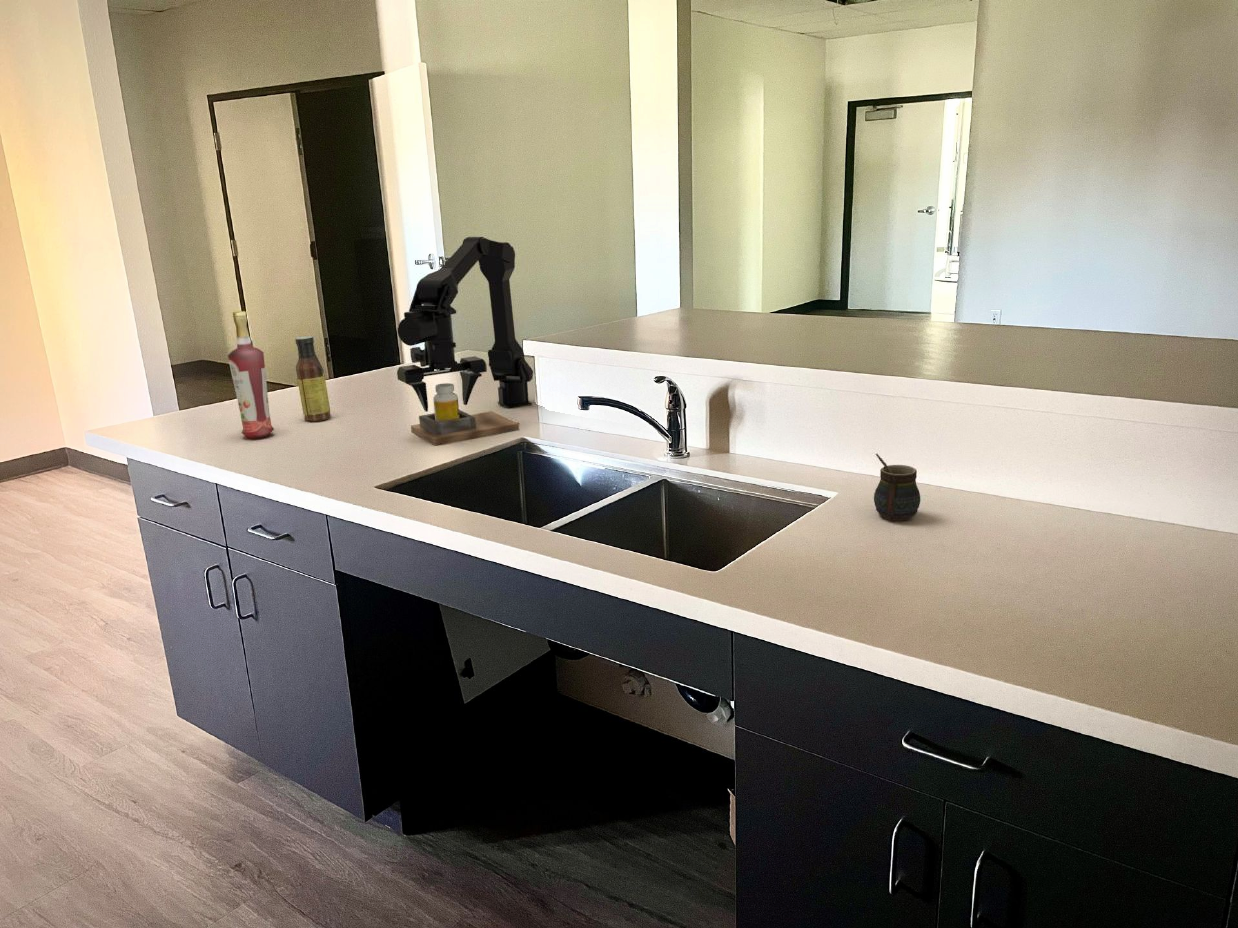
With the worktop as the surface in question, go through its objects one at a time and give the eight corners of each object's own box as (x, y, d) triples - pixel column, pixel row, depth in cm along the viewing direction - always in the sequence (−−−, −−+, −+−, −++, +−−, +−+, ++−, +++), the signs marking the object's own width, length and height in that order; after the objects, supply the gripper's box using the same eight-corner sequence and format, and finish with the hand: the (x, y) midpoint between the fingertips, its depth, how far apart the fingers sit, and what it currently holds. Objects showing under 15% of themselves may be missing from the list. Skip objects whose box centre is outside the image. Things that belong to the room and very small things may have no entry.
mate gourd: (913, 527, 140) (916, 466, 137) (865, 520, 144) (867, 460, 141) (925, 512, 146) (928, 453, 143) (878, 505, 150) (881, 448, 147)
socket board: (492, 417, 214) (490, 401, 212) (519, 429, 202) (517, 412, 201) (411, 431, 203) (409, 414, 202) (435, 445, 192) (433, 427, 191)
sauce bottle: (336, 417, 218) (326, 335, 212) (318, 423, 213) (307, 340, 207) (315, 415, 221) (304, 334, 215) (297, 421, 216) (285, 338, 210)
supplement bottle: (433, 426, 202) (429, 384, 199) (456, 423, 204) (453, 381, 201) (439, 431, 197) (435, 389, 194) (463, 428, 199) (459, 386, 196)
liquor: (281, 435, 204) (263, 311, 195) (250, 442, 199) (230, 315, 190) (266, 430, 209) (247, 308, 200) (235, 437, 204) (214, 313, 195)
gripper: (464, 328, 205) (470, 395, 210) (384, 338, 196) (392, 407, 201) (485, 334, 196) (490, 404, 201) (402, 344, 187) (410, 417, 192)
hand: (445, 408), depth 199 cm, fingers open, 9 cm apart
